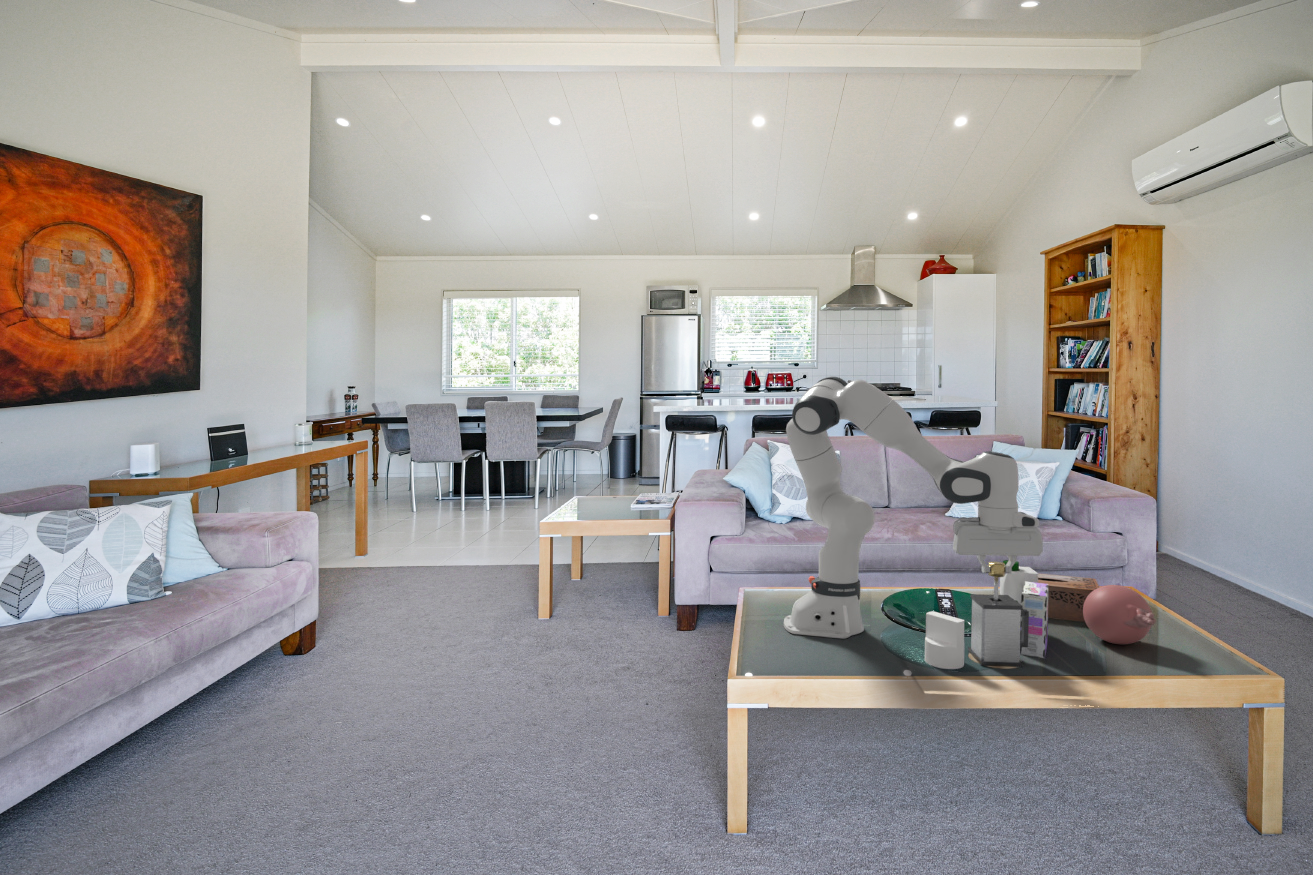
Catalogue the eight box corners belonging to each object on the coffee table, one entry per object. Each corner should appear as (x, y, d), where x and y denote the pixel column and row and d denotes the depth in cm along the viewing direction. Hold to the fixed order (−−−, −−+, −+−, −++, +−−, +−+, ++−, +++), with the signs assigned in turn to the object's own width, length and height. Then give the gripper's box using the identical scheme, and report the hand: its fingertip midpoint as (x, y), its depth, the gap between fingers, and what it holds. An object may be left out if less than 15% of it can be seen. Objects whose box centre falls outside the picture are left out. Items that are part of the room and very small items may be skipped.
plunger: (987, 633, 168) (988, 566, 167) (978, 625, 174) (979, 560, 173) (1012, 634, 167) (1014, 566, 166) (1003, 626, 173) (1004, 560, 172)
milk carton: (995, 626, 196) (997, 557, 195) (1029, 628, 195) (1031, 558, 193) (1004, 637, 188) (1006, 565, 187) (1040, 639, 186) (1042, 566, 185)
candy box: (1045, 660, 171) (1047, 596, 170) (1019, 656, 174) (1020, 592, 173) (1048, 643, 183) (1049, 582, 182) (1023, 639, 186) (1024, 579, 185)
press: (981, 665, 167) (982, 605, 166) (968, 651, 176) (969, 593, 175) (1034, 667, 165) (1036, 606, 164) (1018, 652, 175) (1019, 594, 174)
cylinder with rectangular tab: (971, 665, 168) (972, 618, 168) (950, 674, 163) (951, 625, 162) (938, 654, 176) (939, 608, 175) (917, 662, 171) (917, 615, 170)
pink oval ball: (1117, 660, 171) (1119, 599, 170) (1069, 632, 191) (1071, 578, 190) (1179, 660, 171) (1181, 599, 170) (1125, 632, 191) (1127, 578, 190)
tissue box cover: (1094, 610, 211) (1095, 578, 210) (1100, 624, 198) (1101, 590, 197) (1000, 600, 222) (1001, 569, 222) (1000, 612, 210) (1001, 580, 209)
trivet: (977, 669, 166) (978, 667, 166) (961, 651, 178) (961, 649, 178) (1030, 671, 164) (1030, 669, 164) (1010, 652, 176) (1010, 650, 176)
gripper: (957, 519, 167) (956, 575, 168) (1046, 520, 164) (1045, 576, 165) (949, 514, 173) (948, 568, 174) (1035, 515, 171) (1033, 570, 172)
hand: (996, 572), depth 170 cm, fingers closed on plunger, 4 cm apart
